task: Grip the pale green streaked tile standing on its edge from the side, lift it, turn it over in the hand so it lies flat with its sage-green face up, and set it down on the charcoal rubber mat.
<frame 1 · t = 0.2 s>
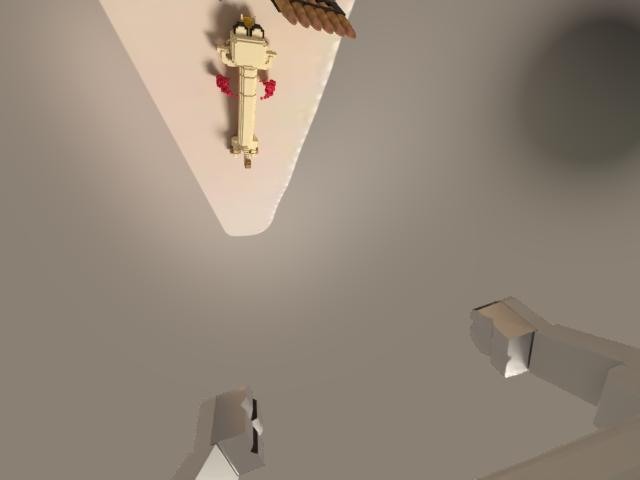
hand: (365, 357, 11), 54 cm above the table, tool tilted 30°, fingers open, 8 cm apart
ammunition clip: (304, 1, 47), on the table
cat figure: (244, 91, 56), on the table
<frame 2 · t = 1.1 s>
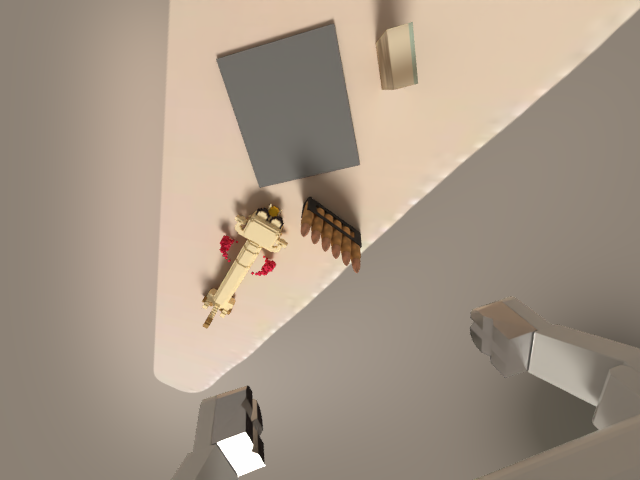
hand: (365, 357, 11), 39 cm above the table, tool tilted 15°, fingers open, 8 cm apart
rubber mat: (293, 114, 43), on the table
ammunition clip: (332, 218, 50), on the table
pale green streaked tile: (388, 64, 40), on the table
cat figure: (245, 257, 55), on the table
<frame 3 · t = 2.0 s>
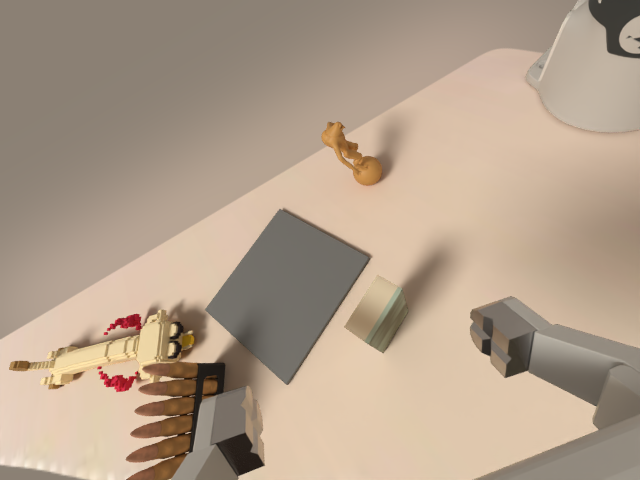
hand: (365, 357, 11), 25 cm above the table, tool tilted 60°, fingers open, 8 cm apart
rubber mat: (284, 286, 41), on the table
ammunition clip: (216, 410, 37), on the table
figurine: (363, 182, 44), on the table
pale green streaked tile: (386, 325, 35), on the table
cat figure: (129, 355, 45), on the table
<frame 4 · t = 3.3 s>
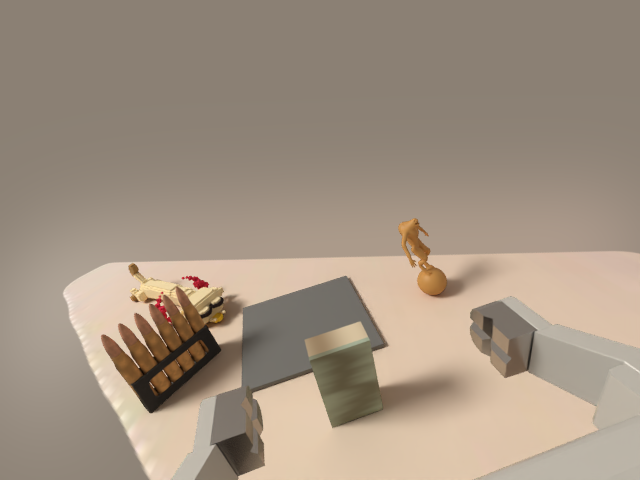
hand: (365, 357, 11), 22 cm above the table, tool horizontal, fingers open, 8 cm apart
rubber mat: (304, 326, 44), on the table
ammunition clip: (186, 377, 41), on the table
figurine: (425, 291, 45), on the table
pale green streaked tile: (354, 407, 32), on the table
cat figure: (181, 308, 56), on the table
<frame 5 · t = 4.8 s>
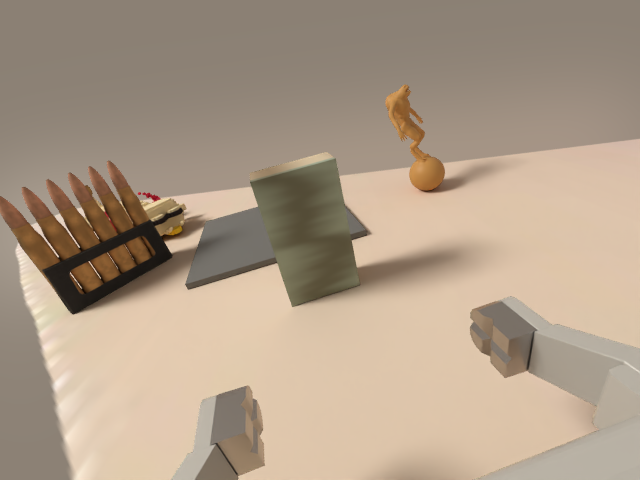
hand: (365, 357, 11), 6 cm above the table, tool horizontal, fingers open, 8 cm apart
rubber mat: (273, 229, 36), on the table
ammunition clip: (126, 282, 33), on the table
figurine: (419, 190, 38), on the table
pale green streaked tile: (322, 286, 24), on the table
cat figure: (139, 232, 48), on the table
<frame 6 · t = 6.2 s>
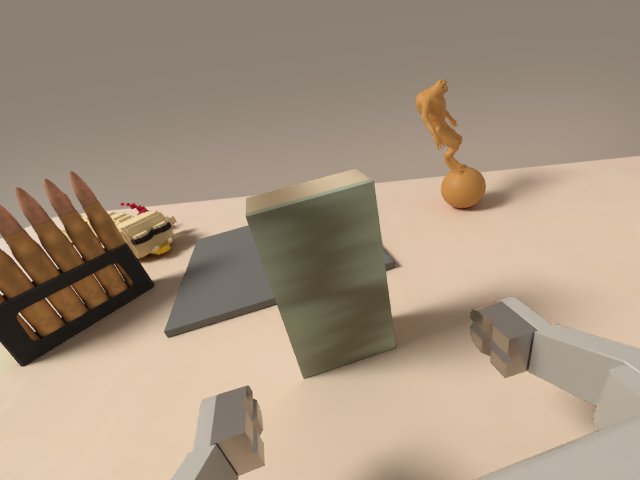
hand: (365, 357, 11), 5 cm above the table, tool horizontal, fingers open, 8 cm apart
rubber mat: (276, 253, 30), on the table
ammunition clip: (95, 319, 27), on the table
figurine: (451, 207, 31), on the table
pale green streaked tile: (344, 346, 18), on the table
cat figure: (122, 247, 42), on the table
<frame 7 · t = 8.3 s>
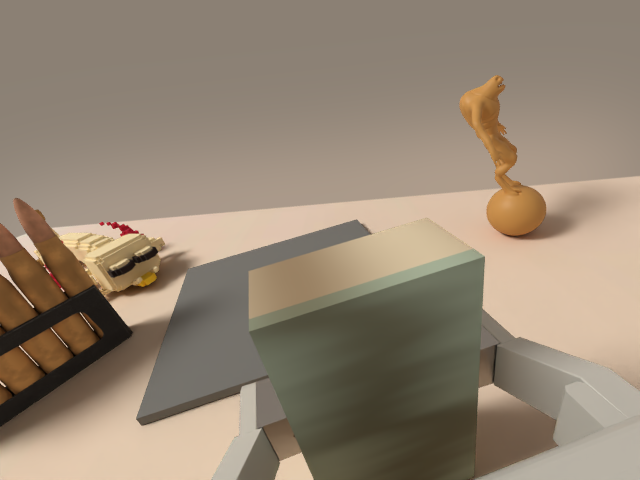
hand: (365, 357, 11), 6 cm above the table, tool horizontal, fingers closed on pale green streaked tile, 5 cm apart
rubber mat: (284, 292, 24), on the table
ammunition clip: (54, 384, 21), on the table
figurine: (498, 233, 26), on the table
pale green streaked tile: (392, 466, 12), on the table, touching gripper
cat figure: (103, 273, 37), on the table
when the fingers open (3 cm above the table, at t = 18.5 s): pale green streaked tile drops 2 cm, resting on rubber mat.
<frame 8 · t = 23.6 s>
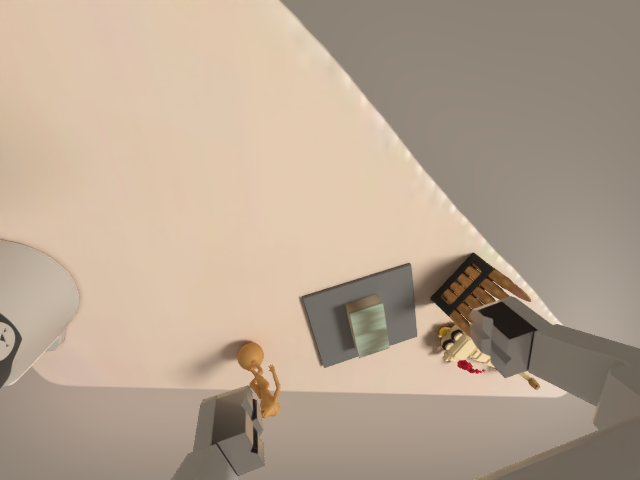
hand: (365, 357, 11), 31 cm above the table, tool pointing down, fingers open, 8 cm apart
rubber mat: (364, 317, 52), on the table
ammunition clip: (453, 277, 52), on the table
figurine: (256, 347, 50), on the table
pale green streaked tile: (371, 347, 52), point 2 cm above the table, tilted 90°, touching rubber mat
cat figure: (476, 343, 62), on the table
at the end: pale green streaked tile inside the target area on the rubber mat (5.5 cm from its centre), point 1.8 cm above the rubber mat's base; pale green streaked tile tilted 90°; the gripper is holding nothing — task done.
